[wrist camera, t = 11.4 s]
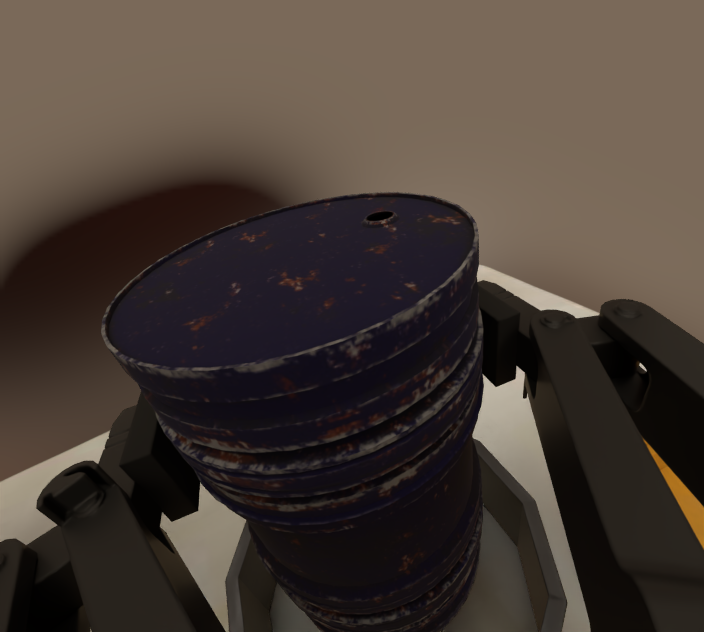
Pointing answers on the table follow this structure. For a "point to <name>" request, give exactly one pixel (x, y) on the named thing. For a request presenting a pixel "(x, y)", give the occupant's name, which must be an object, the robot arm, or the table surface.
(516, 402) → the table surface
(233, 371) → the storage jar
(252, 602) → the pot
